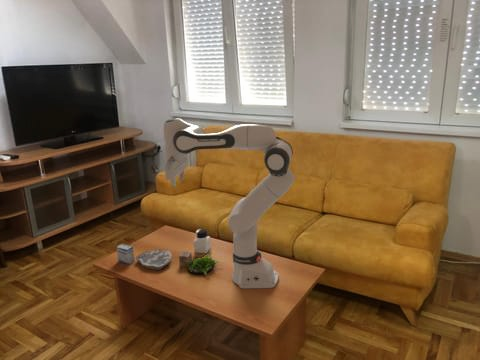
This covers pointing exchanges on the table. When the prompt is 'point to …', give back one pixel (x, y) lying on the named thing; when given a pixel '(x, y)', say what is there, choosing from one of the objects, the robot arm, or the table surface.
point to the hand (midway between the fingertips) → (178, 182)
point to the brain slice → (154, 259)
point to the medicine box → (125, 254)
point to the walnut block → (185, 258)
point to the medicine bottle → (202, 241)
